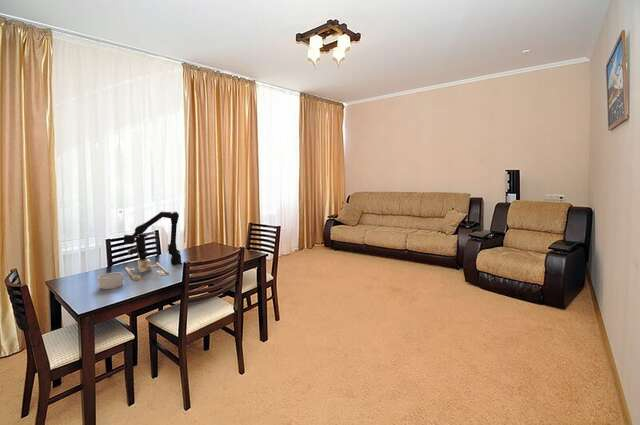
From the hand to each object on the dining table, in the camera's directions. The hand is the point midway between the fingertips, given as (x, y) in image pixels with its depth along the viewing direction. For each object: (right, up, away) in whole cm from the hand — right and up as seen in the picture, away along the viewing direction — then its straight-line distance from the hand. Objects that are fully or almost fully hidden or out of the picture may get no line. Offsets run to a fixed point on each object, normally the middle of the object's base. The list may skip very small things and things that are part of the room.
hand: (142, 264), depth 242 cm
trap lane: (+9, -4, -10) cm, 14 cm away
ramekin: (+2, -8, -39) cm, 39 cm away
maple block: (+5, -3, -6) cm, 8 cm away
